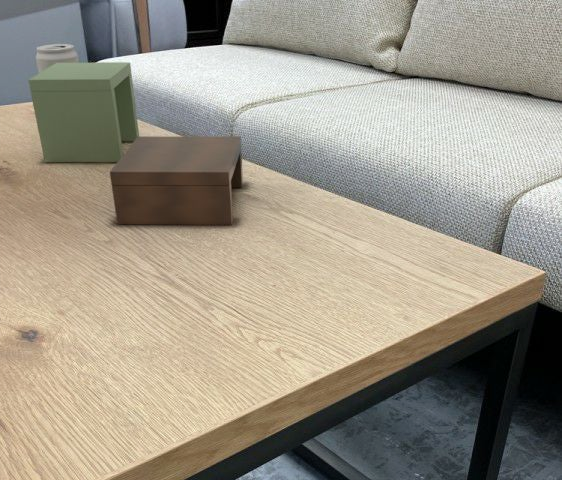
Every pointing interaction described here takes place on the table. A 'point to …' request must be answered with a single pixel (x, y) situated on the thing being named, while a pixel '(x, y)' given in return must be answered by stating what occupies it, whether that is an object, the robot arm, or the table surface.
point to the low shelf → (177, 180)
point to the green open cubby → (84, 111)
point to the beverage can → (55, 55)
